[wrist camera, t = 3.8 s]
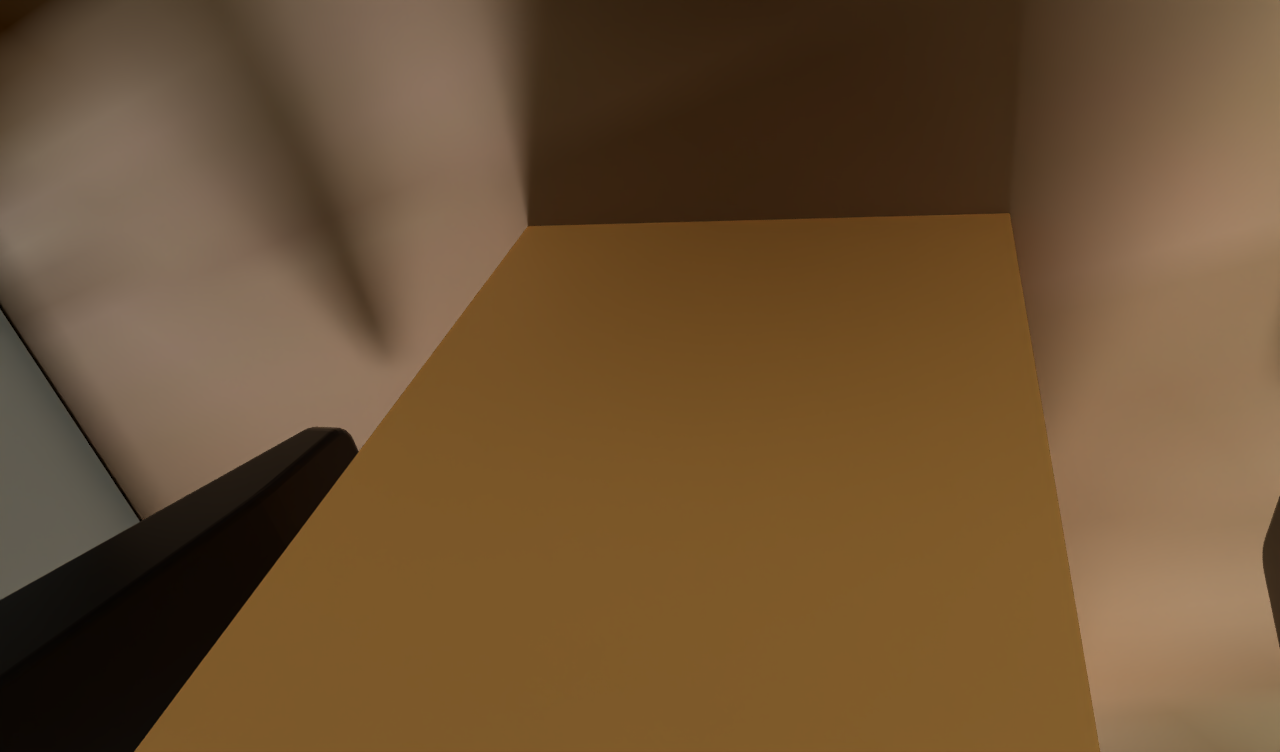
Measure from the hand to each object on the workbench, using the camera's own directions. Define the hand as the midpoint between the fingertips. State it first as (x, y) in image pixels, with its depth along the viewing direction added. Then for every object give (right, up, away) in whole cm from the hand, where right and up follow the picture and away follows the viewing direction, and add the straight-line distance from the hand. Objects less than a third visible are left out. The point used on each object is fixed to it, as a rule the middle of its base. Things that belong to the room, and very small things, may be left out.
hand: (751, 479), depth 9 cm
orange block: (0, +1, +1) cm, 1 cm away
